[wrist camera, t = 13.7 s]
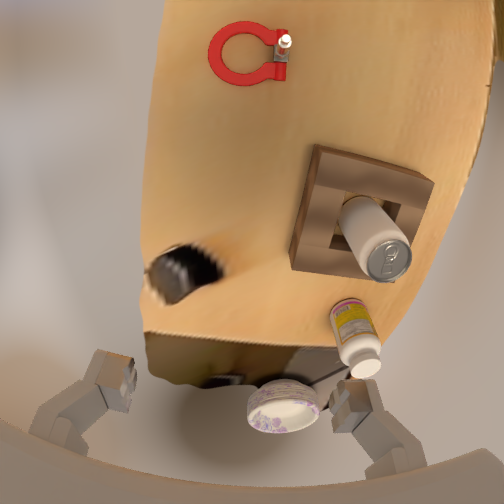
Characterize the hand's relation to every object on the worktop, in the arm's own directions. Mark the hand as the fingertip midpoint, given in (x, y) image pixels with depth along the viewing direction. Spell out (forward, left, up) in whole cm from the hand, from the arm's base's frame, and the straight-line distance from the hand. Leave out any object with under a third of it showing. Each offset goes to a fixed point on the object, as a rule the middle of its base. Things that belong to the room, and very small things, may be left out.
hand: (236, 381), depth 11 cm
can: (+4, +16, -31) cm, 36 cm away
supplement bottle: (+22, +21, -31) cm, 43 cm away
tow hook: (-14, -2, -31) cm, 34 cm away
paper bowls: (+47, +15, -31) cm, 58 cm away
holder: (+4, +16, -31) cm, 35 cm away
